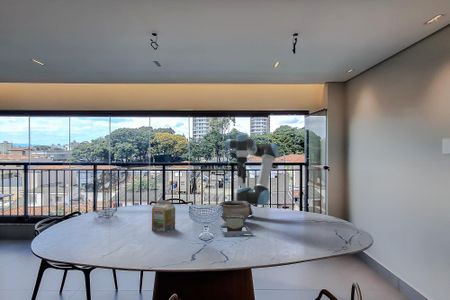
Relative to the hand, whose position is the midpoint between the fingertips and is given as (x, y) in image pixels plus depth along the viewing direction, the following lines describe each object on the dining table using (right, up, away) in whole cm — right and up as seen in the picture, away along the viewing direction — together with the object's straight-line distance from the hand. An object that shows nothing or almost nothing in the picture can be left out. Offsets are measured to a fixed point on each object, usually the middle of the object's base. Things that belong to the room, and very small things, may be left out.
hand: (241, 186), depth 205 cm
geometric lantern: (-105, -27, +25) cm, 111 cm away
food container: (-5, -26, -19) cm, 33 cm away
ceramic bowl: (-5, -27, +5) cm, 28 cm away
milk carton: (-52, -26, -15) cm, 60 cm away
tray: (-5, -26, -20) cm, 33 cm away
